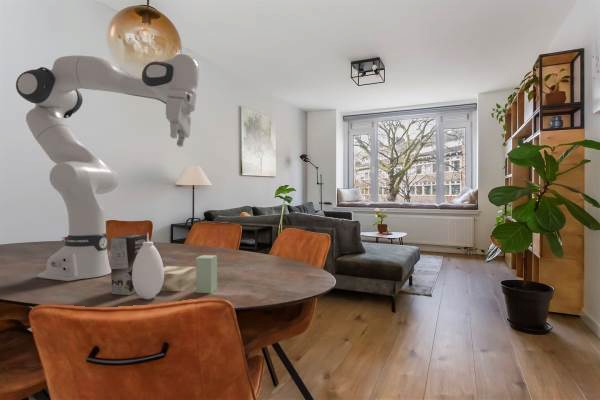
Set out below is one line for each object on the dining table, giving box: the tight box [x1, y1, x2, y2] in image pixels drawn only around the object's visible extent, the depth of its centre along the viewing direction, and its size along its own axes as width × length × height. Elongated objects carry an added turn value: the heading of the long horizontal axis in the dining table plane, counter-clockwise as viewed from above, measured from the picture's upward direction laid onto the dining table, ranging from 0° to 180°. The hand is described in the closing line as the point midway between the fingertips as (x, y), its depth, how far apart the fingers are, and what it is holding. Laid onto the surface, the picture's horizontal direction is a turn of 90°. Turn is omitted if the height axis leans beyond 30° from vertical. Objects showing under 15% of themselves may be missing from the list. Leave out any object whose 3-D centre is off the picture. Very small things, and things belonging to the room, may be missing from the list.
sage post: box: [195, 254, 218, 294], centre depth 102 cm, size 4×4×10 cm
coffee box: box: [110, 233, 147, 296], centre depth 102 cm, size 9×6×16 cm
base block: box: [160, 265, 196, 292], centre depth 107 cm, size 10×10×5 cm
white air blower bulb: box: [132, 232, 164, 300], centre depth 94 cm, size 8×8×18 cm
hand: (176, 142), depth 116 cm, fingers open, 8 cm apart
